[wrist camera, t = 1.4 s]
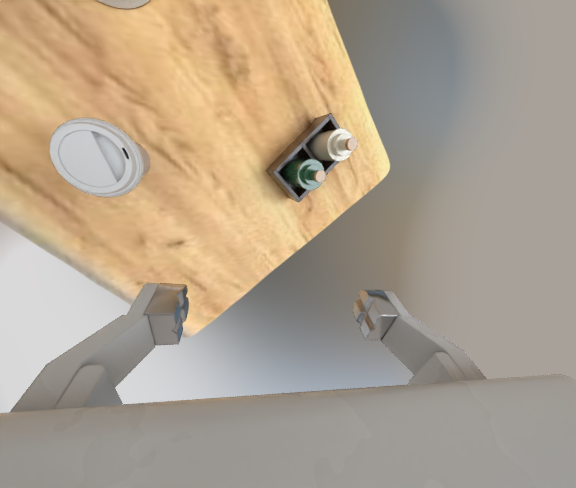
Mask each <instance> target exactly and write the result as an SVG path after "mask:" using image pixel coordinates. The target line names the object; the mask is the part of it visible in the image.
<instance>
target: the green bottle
mask: <svg viewBox="0 0 576 488" xmlns="http://www.w3.org/2000/svg"><path fill="white" fill-rule="evenodd" d="M281 176H282V178H283V179H284V180H285V181H286V182H287V184H290V185H293V186H296V187H300V188H303V189H306V190H314V189H316V188H318V187H319V186H320V185H321V184H322V182H324V181H325V179H326V173H325V171H324V168H323V165H322V164H321V163H320V162H319V161H318V160H315V159H291V160H290V161H289V162H288V163H287V164H286V165H285V166H284V167H283V168H282V169H281Z"/></svg>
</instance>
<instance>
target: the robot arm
mask: <svg viewBox="0 0 576 488" xmlns="http://www.w3.org/2000/svg"><path fill="white" fill-rule="evenodd" d="M97 1H99V2H101V3H104V4H106V5H109V6H112V7H116V8H124V9H130V8H136V7H139V6H142V5H144V4H146V3H147V2H149V1H150V0H97ZM187 291H188V290H187V285H185V284H166V283H146V284H145V285H144V286H143V287H142V289H141V291H140V293H139V294H138V296H137V298H136V299H135V301H134V303H133V305H132V306H131V308H130V310H129V312H128V313H127V315H122V316H120V317H119V318H117V319H115V320H114V321H112V322H111V323H109V324H108V325H106V326H105V327H103V328H102V329H100V330H99V331H97V332H96V333H94V334H93V335H91V336H89V337H88V338H86V339H85V340H83V341H82V342H80V343H79V344H77V345H76V346H74V347H73V348H71V349H70V350H68V351H67V352H65V353H63V354H62V355H60V356H59V357H57V358H56V359H54V360H53V361H51V362H50V363H48V364H47V365H46V366H45V367H44V368H43V370H42V371H41V372H40V374H39V375H38V376H37V377H36V379H35V380H34V381H33V383H32V384H31V385H30V387H29V388H28V389H27V390H26V392H25V393H24V394H23V396H22V397H21V399H20V400H19V401H18V402H17V403H16V405H15V406H14V407H13V409H12V410H11V411H10V412H9V413H0V488H576V380H575V379H573V378H571V377H569V376H565V375H561V374H553V375H539V376H525V377H510V378H496V379H487V378H486V377H485V376H484V375H483V374H482V373H481V371H480V370H479V369H478V367H477V366H476V365H475V364H474V363H473V361H471V359H470V358H469V357H468V355H467V354H466V353H465V352H464V351H463V350H462V349H460V348H459V347H457V346H456V345H455V344H453V343H452V342H450V341H448V340H447V339H445V338H444V337H443V336H441V335H440V334H438V333H437V332H435V331H434V330H432V329H431V328H429V327H428V326H427V325H425V324H424V323H422V322H420V321H419V320H418V319H416V318H415V317H413V316H410V315H409V314H408V313H407V311H406V310H405V308H404V307H403V306H402V304H401V303H400V301H399V300H398V299H397V297H396V296H395V294H394V293H393V292H392V291H390V290H362V291H360V293H359V299H358V300H357V301H355V304H354V306H353V314H354V317H355V319H356V321H357V322H359V323H360V330H361V332H362V335H363V336H364V339H365V340H381V342H382V343H383V344H384V345H385V346H386V347H387V348H388V349H389V350H390V351H391V352H392V353H393V354H394V355H395V356H396V357H397V358H398V359H399V360H400V361H401V362H402V363H403V364H404V365H405V366H406V367H407V368H408V369H409V370H410V371H411V372H412V373H413V374H414V376H413V377H412V378H411V380H410V381H409V385H397V386H382V387H367V388H353V389H340V390H339V389H338V390H323V391H310V392H295V393H281V394H267V395H253V396H237V397H223V398H209V399H195V400H180V401H166V402H153V403H138V404H123V403H122V401H121V399H120V397H119V395H118V393H117V391H116V389H115V387H116V386H117V385H118V384H119V383H120V382H121V381H122V380H123V379H124V378H125V377H126V376H127V375H128V374H129V373H130V372H131V371H132V370H133V369H134V368H135V367H136V366H137V365H138V364H139V363H140V362H141V361H142V360H143V359H144V358H145V357H146V356H147V355H148V354H149V353H150V352H151V350H152V349H154V348H155V345H173V344H179V341H180V338H181V335H182V331H183V325H182V323H183V322H184V321H186V318H187V314H188V308H189V301H188V298H187V297H186V294H187ZM122 404H123V405H122Z"/></svg>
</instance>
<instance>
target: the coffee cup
mask: <svg viewBox="0 0 576 488" xmlns="http://www.w3.org/2000/svg"><path fill="white" fill-rule="evenodd" d="M49 150H50V156H51V160H52V162H53V164H54V166H55V168H56V170H57V171H58V172H59V174H60V175H61V176H62V177H63V178H64V179H65V180H66V181H67V182H68V183H70V184H71V185H72V186H74V187H76V188H77V189H79V190H81V191H83V192H85V193H88V194H91V195H95V196H100V197H117V196H122V195H124V194H127V193H129V192H130V191H132V190H133V189H134V188H135V187H136V186H137V185H138V184H139V183H140V181H141V179H142V176H144V175H145V174H146V173H147V172H148V170H149V168H150V158H149V155H148V153H147V152H146V150H145V149H144V148H143V147H142V146H141V145H139V144H138V143H136V142H134V141H133V140H132V139H131V138H130V137H129V136H128V135H127V134H126V133H125V132H124V131H123V130H121V129H120V128H118V127H117V126H115V125H113V124H111V123H109V122H106V121H103V120H100V119H95V118H77V119H73V120H70V121H67V122H65V123H63V124H62V125H60V126H59V127H58V128H57V129H56V130H55V132H54V133H53V135H52V137H51V140H50V146H49Z"/></svg>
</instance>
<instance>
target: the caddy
mask: <svg viewBox="0 0 576 488" xmlns="http://www.w3.org/2000/svg"><path fill="white" fill-rule="evenodd" d="M335 129H340V127H339V126H338V124H337V122H336V121H335V119H334V117H333V116H332V114H331V113H330V114H327V115H324V116H321V117H318V118H317V119H316V120H315V121H314V122H313V123H312V124H311V125H310V126H309V127H308V128H307V129H306V130H305V131H304V132H303V133H302V134H301V135H300V136H299V137H298V138H297V139H296V140H295V141H294V142H293V143H292V144H291V145H290V146H289V147H288V148H287V149H286V150H285V151H284V152H283V153H282V154H281V155H280V156H279V157H278V158H277V159H276V160H275V161H274V162H273V163H272V165H271V166H270V167H269V168H268V169H267V170H266V172H267V173H268V174H269V175H270V176H271V178H272V179H273V180H274V181H275V182H276V183H277V184H278V186H279V187H280V188H281V189H282V190H283V191H284V192H285V194H286V195H287V196H288V197H289V198H290V199H292V200H294V201H297V202H300V201H301V200H302V199H303V198H304V197H305V196H306V195H307V194H308V193H309V192H310V191H311V190H306V189H303V188H300V187H296V186H293V185H290V184H287V182H286V181H285V180H284V179H283V178H282V176H281V169H282V168H283V167H284V166H285V165H286V164H287V163H288V162H289V161H290V160H291V159H315V157H314V156H313V154H312V153H311V152H310V150H309V149H308V147H307V146H306V143H307V142H308V141H309V140H310V139H311V138H312V137H313V136H314V135H315V134H316V133H321V132H326V131H330V130H335ZM315 160H316V159H315ZM319 162H320V163H321V164H322V165H323V168H324V171H325V173H326V174H328V173H329V171H330V170H331V169H332V168H333V167H334V166H335V165H336V164H337V163H338V162H339V161H319Z"/></svg>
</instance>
